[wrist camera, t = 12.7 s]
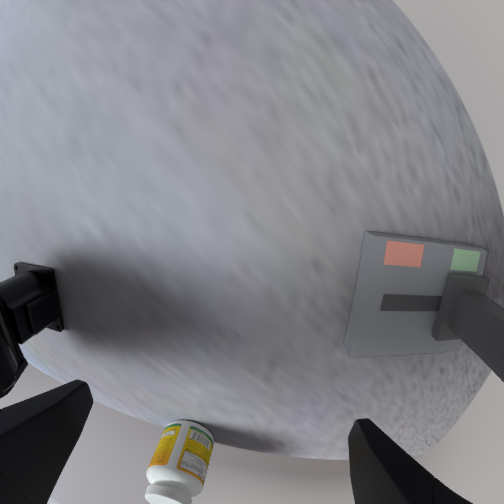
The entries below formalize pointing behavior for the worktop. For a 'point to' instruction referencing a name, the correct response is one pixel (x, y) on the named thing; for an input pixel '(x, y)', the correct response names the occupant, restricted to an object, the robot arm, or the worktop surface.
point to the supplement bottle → (179, 463)
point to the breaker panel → (404, 293)
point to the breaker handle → (472, 319)
